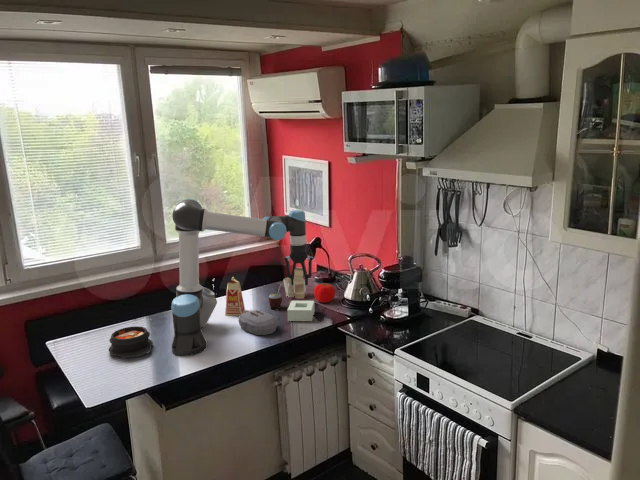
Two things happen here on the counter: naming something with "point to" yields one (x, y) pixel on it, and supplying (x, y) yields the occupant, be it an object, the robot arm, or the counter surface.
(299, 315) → the socket block
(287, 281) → the mug
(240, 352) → the counter surface
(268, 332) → the small grey backpack
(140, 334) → the casserole
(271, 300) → the mate gourd
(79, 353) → the counter surface
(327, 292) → the tomato
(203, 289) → the jar
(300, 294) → the peg
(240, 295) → the milk carton
